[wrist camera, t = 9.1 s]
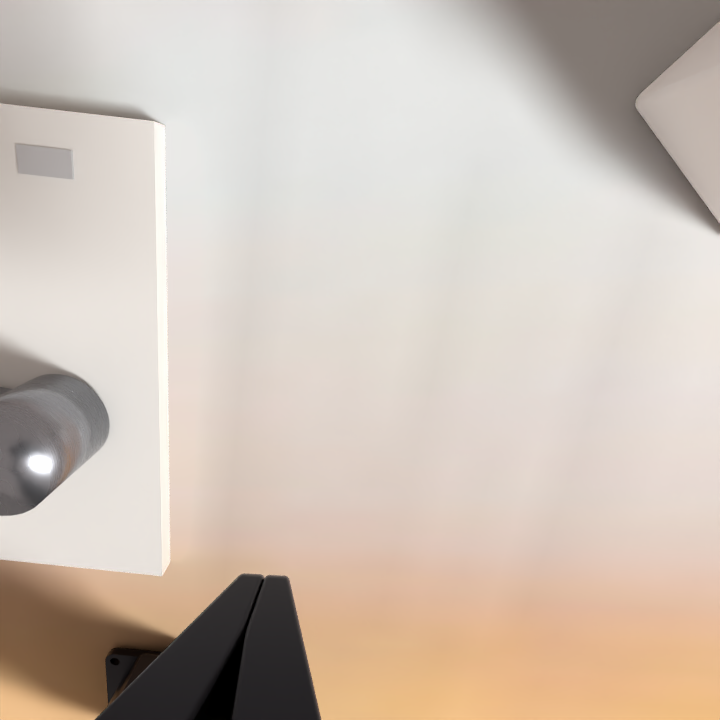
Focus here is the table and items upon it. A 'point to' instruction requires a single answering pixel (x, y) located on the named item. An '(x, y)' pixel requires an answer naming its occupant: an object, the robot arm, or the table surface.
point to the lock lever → (46, 437)
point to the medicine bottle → (690, 115)
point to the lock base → (90, 324)
